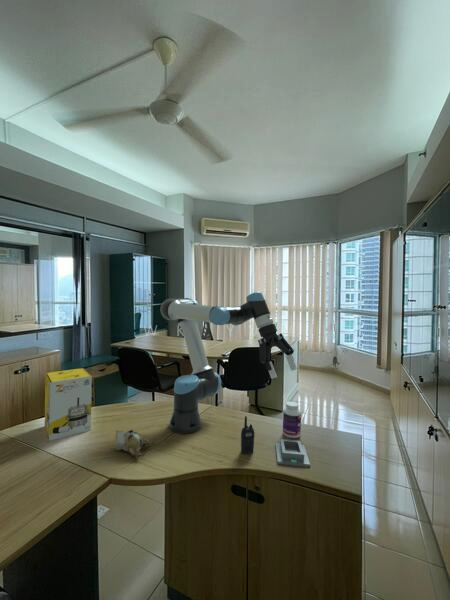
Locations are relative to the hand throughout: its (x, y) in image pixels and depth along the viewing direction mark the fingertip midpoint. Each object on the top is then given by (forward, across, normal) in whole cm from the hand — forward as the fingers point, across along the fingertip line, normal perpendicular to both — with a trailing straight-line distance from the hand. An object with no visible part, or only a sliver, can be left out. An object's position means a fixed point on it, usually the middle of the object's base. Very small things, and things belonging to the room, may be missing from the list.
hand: (284, 373), depth 118 cm
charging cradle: (+30, -3, +10) cm, 32 cm away
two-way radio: (+24, -15, +21) cm, 35 cm away
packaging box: (-9, -66, +78) cm, 103 cm away
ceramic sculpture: (+8, -51, +46) cm, 69 cm away
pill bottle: (+27, +11, +19) cm, 35 cm away
